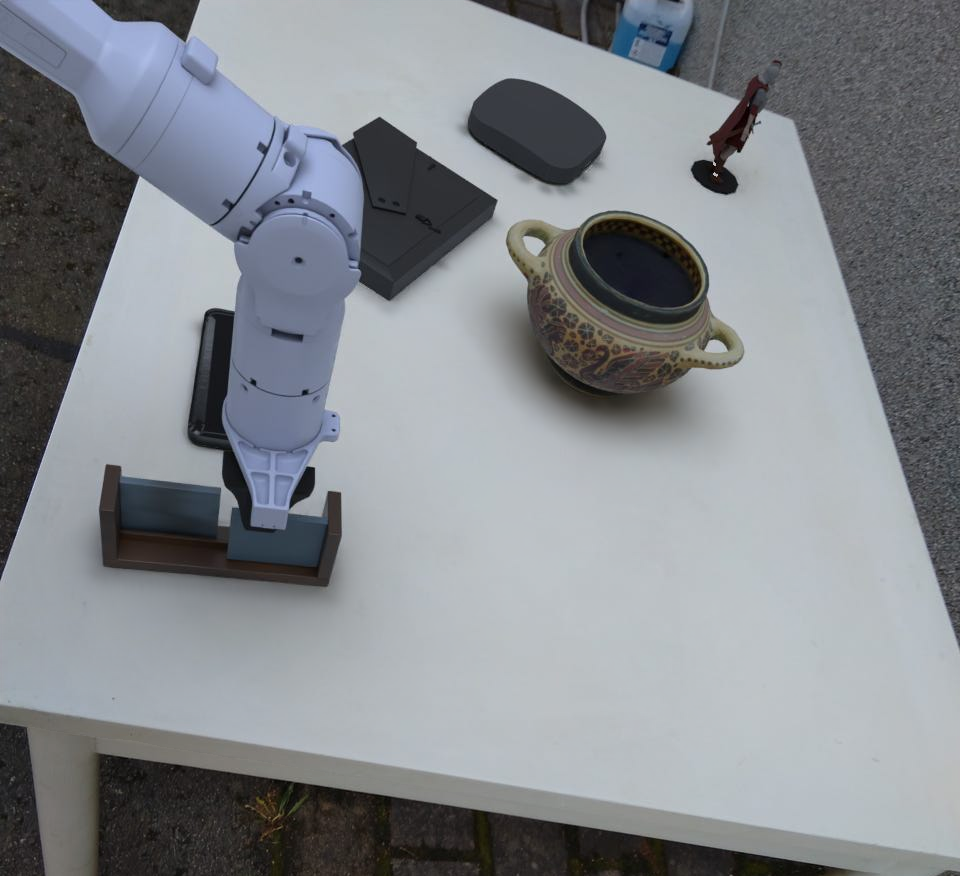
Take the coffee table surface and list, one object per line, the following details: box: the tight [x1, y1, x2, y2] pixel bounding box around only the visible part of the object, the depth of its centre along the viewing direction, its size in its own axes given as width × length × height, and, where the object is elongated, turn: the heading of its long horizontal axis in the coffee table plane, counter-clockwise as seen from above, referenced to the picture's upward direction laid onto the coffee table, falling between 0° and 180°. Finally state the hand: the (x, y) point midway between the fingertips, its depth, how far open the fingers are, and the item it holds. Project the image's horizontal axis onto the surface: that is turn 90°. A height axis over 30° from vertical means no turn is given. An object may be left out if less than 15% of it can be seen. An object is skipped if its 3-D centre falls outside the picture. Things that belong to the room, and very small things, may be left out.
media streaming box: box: [467, 77, 607, 184], centre depth 111 cm, size 15×15×3 cm
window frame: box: [98, 463, 343, 587], centre depth 67 cm, size 16×4×6 cm, turn 95°
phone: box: [187, 307, 235, 451], centre depth 78 cm, size 8×1×15 cm
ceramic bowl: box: [505, 209, 745, 398], centre depth 88 cm, size 24×18×15 cm
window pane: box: [227, 506, 328, 567], centre depth 66 cm, size 7×1×8 cm, turn 95°
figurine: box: [690, 59, 783, 196], centre depth 114 cm, size 7×7×15 cm
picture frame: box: [341, 116, 499, 301], centre depth 95 cm, size 16×3×21 cm
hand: (260, 508), depth 64 cm, fingers open, 3 cm apart
